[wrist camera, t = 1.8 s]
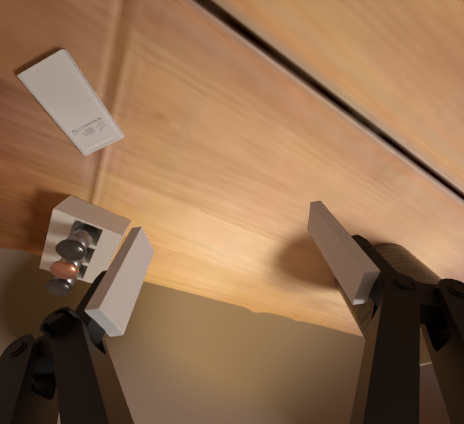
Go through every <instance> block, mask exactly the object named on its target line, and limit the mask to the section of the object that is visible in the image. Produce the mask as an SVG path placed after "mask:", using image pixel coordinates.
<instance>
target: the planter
mask: <svg viewBox="0 0 464 424" xmlns="http://www.w3.org/2000/svg"><path fill="white" fill-rule="evenodd" d="M373 247H374V248H375V249H376V250H377V252H379V253H380V254H381V256H382V257H383V258H384V259H385V260H386V261H387V262H388V263H389V264H390V265H391V266H392V267H393V268H394V269H395V270H396V271H397V272H398V273H402V274H405V275H407V276H409V277H411V278H412V279H414V280H415V281H416V282H421V283H429V284H438V282H439V281H440V280H441V278H440V277H439V276H438V275H437V274H435V273H434V272H433V271H432V270H431V269H429V268H428V267H427V266H426V265H425V264H423V263H422V262H421V261H420V260H419V259H417V258H416V257H415V256H414V255H413V254H412V253H410V252H409V251H408V250H407V249H405V248H404V247H402V246H399V245H395V244H382V245H376V246H373ZM335 283H336V286H337V288H338V289H339V291H340V293H341V295H342V297H343V299H344V301H345V302H346V304H347V306H348V308H349V310H350V312H351V314H352V316H353V318H354V319H355V321H356V323H357V325H358V327H359V329H360V330H361V332H362V334H363V336H364V338H365V339H366V336H367V331H368V325H369V320H370V314H369V312H370V310H371V308H372V306H373V302H372V300H371V299H370V297H369V298H368V300H367V302H366V303H363V304H355V305H352V303H351V302H350V300H349V298H348V297H347V295H346V293H345V292H344V290H343V288H342V287H341V285H340V283H339V282H338V280H337V278H336V277H335ZM430 363H432V362H431V358H430V355H429V352H428V349H427V346H426V343H425V339H424V336H423V333H422V330H421V327H420V365H425V364H430Z"/></svg>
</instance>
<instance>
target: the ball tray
mask: <svg viewBox="0 0 464 424" xmlns="http://www.w3.org/2000/svg"><path fill="white" fill-rule="evenodd" d="M130 223H131V220H129V219H126V218H124V217H122V216H119V215H117V214H115V213H112V212H110V211H107V210H105V209H103V208H100V207H98V206H95V205H93V204H91V203H88V202H86V201H84V200H81V199H79V198H76V197H74V196H72V195H70V196H69V197H68V198H66V199H65V200H64V201H62V202H61V203H60V204H59V205H57V206H56V207H55V208H53V212H52V216H51V220H50V225H49V229H48V233H47V237H46V242H45V246H44V250H43V255H42V259H41V263H40V268H41V269H45V270H48V271H50V267H51V265H52V264H53V263H54V262H56V261H59V260H60V259H61V258H62V257H61V256H60V255H59V254H58V253H57V252H56V250H55V247H56V245H57V244H58V243H59V242H60V241H62V240H65V239H67V238H68V237H69V236H70V234H71V233H72V232H73V231H74V230H75V229H76V228H77V227H78V226H79V225H80V224H89V225H91V226H94V227H95V228H96V229H97V230H98V235H97V236H96V238H95V239H94V240H93V241H92V243H91V244H90V245H89V248H90V250H91V253H90V254H89V256H88V257H87V258H86V260H85V261H84V262H83V264H82V265H83V266H84V270H83V271H82V273H81V274H80V275H79V277H78V278H77V279H79V280H83V281H86V282H90V283H93V281H94V280H95V278H96V277H97V276H98V275H99V274H100V273H101V272H102V271H106V270H107V269H108V267H109V265H110V263H111V261H112V259H113V257H114V255H115V253H116V251H117V249H118V247H119V245H120V243H121V241H122V239H123V237H124V235H125V233H126V231H127V229H128V227H129V225H130Z"/></svg>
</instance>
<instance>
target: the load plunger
mask: <svg viewBox="0 0 464 424" xmlns="http://www.w3.org/2000/svg"><path fill="white" fill-rule="evenodd" d="M86 251H87V252H86V254H85V256H84V257H83V258H82V259H81V260H77V261H72V260H67V259H65V258H63V257H62V258H61V259H60V260H59V261H56V262H54V263H53V264H52V265H51V267H50V271H51V273H52V274H54V275H55V276H56V277H59V278H62V279H73V278H75V277H76V276H77V274H78V273H79V268H80V266H81V265H82V264H83V262H84V261H85V260H86V258H87V257H88V256H89V254H90V253H91V250H90V248H89V247H88V248H87V249H86Z"/></svg>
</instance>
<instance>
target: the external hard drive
mask: <svg viewBox="0 0 464 424" xmlns="http://www.w3.org/2000/svg"><path fill="white" fill-rule="evenodd" d="M17 77H18V78H19V79H20V80H21V82H22V83H23V84H24V85H25V86H26V87H27V89H28V90H29V91H30V92H31V93H32V95H33V96H34V97H35V98H36V99H37V100H38V102H39V103H40V104H41V105H42V106H43V108H44V109H45V110H46V111H47V112H48V114H49V115H50V116H51V117H52V118H53V119H54V121H55V122H56V123H57V124H58V125H59V127H60V128H61V129H62V130H63V131H64V132H65V134H66V135H67V136H68V137H69V138H70V140H71V141H72V142H73V143H74V144H75V145H76V147H77V148H78V149H79V150H80V151H81V153H82V154H83V155H84V156H86V155H88V154H90V153H92V152H94V151H96V150H99V149H101V148H103V147H105V146H107V145H109V144H111V143H114V142H116V141H118V140H120V139H122V138H124V137H125V135H124V134H123V132H122V131H121V129H120V128H119V126H118V125H117V124H116V122H115V121H114V119H113V118H112V116H111V115H110V113H109V112H108V110H107V109H106V107H105V106H104V104H103V103H102V101H101V100H100V98H99V97H98V95H97V94H96V93H95V91H94V90H93V88H92V87H91V85H90V84H89V82H88V81H87V79H86V78H85V76H84V75H83V73H82V72H81V70H80V69H79V67H78V66H77V64H76V63H75V62H74V60H73V59H72V57H71V56H70V54H69V53H68V51H67V50H65V49H61V50H59V51H57V52H56V53H54V54H52V55H50V56H49V57H47V58H45V59H44V60H42V61H40V62H38V63H37V64H35V65H33V66H32V67H30V68H28V69H27V70H25V71H23V72H21V73H20V74H18V75H17Z"/></svg>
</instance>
